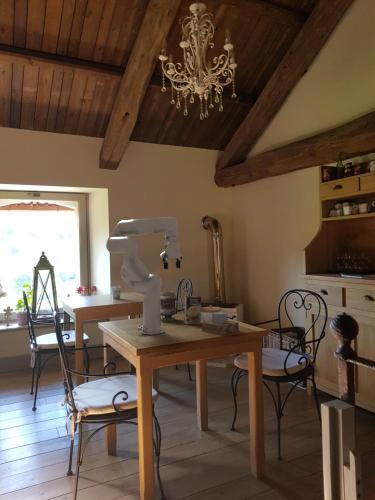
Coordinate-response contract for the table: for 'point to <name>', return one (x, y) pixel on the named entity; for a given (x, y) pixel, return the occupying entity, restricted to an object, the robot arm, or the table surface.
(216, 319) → the slate block
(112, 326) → the table surface
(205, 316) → the lidded bowl
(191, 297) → the coffee box
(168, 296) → the apothecary jar
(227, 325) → the walnut block
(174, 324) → the table surface
